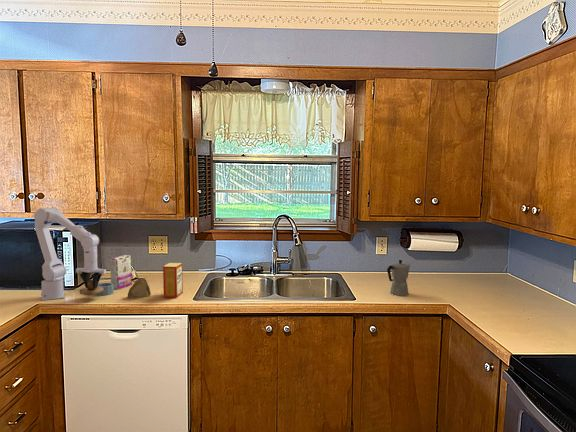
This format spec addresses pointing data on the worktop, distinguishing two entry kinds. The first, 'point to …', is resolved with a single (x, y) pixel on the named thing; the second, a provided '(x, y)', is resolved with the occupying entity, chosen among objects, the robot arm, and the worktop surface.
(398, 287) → the coffeepot
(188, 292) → the worktop surface
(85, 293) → the walnut lid
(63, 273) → the robot arm
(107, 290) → the slate bowl
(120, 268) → the candy bar box
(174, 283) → the baking soda box
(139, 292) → the rock
